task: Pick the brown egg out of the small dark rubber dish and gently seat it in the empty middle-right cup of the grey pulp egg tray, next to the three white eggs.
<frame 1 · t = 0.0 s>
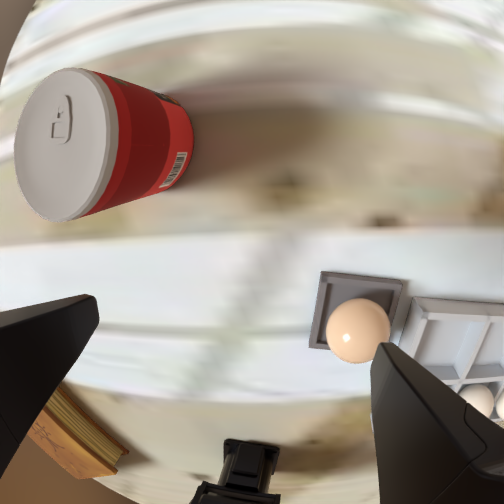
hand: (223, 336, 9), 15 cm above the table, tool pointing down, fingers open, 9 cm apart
egg tray: (476, 364, 23), on the table
canned food: (153, 143, 22), on the table
egg dish: (353, 312, 23), on the table
brown egg: (358, 331, 21), point 3 cm above the table, touching egg dish
white egg 2: (472, 406, 21), point 3 cm above the table, touching egg tray
diary: (58, 411, 39), on the table
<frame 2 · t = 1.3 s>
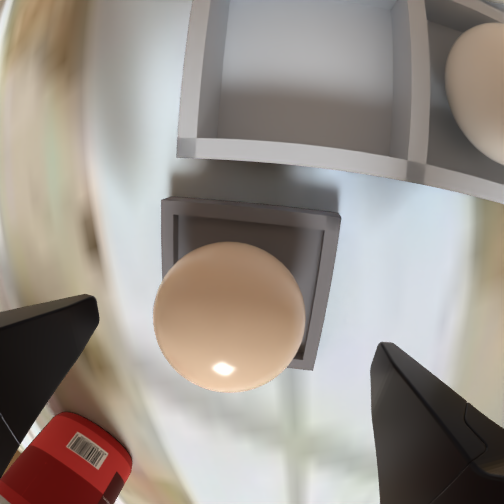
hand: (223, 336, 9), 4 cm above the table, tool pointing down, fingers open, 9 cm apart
canned food: (95, 440, 19), on the table
egg dish: (245, 283, 12), on the table
brown egg: (229, 317, 10), point 3 cm above the table, touching egg dish
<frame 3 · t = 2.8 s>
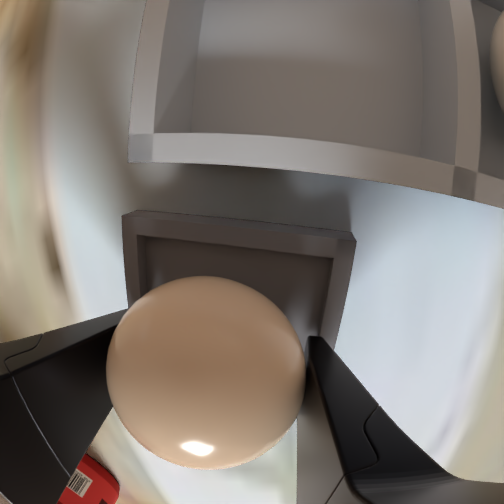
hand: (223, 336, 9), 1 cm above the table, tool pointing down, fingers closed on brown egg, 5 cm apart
canned food: (80, 462, 17), on the table
egg dish: (231, 319, 10), on the table
brown egg: (205, 374, 7), point 3 cm above the table, touching egg dish, gripper
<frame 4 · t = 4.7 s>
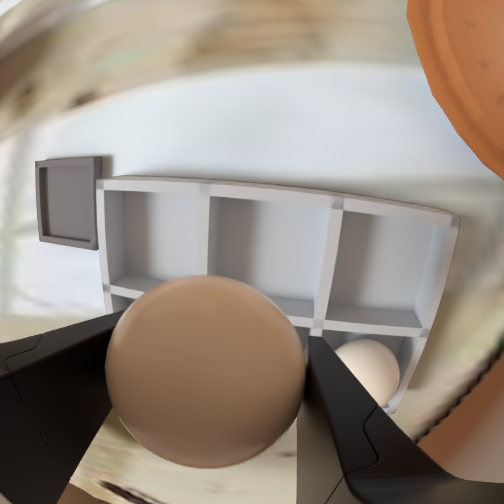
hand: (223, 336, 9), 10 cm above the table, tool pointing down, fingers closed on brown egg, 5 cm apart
egg tray: (265, 296, 19), on the table
egg dish: (69, 201, 20), on the table
white egg 1: (361, 377, 17), point 3 cm above the table, touching egg tray
brown egg: (205, 373, 7), point 12 cm above the table, touching gripper
pie: (493, 73, 12), on the table
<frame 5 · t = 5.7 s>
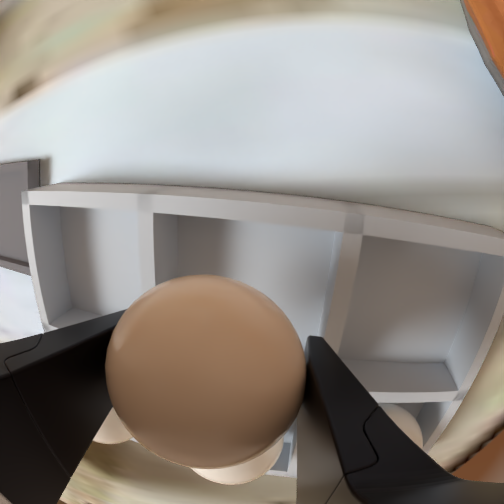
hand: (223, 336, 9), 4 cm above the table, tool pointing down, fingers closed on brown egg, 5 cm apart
egg tray: (246, 345, 14), on the table
egg dish: (11, 215, 14), on the table
white egg 1: (372, 449, 11), point 3 cm above the table, touching egg tray
brown egg: (205, 373, 7), point 6 cm above the table, touching gripper
white egg 3: (104, 399, 13), point 3 cm above the table, touching egg tray
white egg 2: (230, 436, 12), point 3 cm above the table, touching egg tray
when the fingers open (3 cm above the table, at t = 6.6 s): brown egg drops 2 cm, resting on egg tray.
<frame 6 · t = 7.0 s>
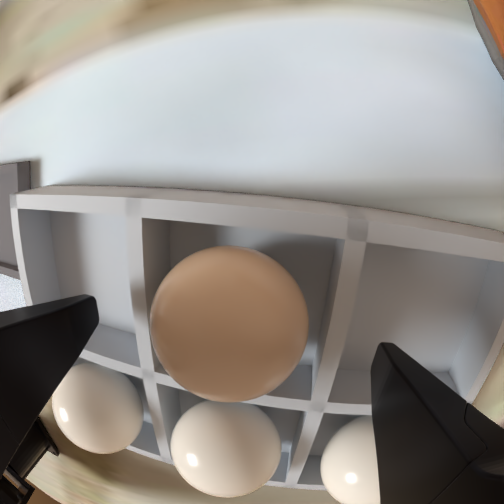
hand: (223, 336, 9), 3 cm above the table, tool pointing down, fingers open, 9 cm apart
egg tray: (242, 355, 13), on the table
egg dish: (3, 218, 14), on the table
white egg 1: (373, 461, 10), point 3 cm above the table, touching egg tray
brown egg: (229, 324, 9), point 3 cm above the table, touching egg tray
white egg 3: (97, 408, 12), point 3 cm above the table, touching egg tray
white egg 2: (225, 448, 11), point 3 cm above the table, touching egg tray
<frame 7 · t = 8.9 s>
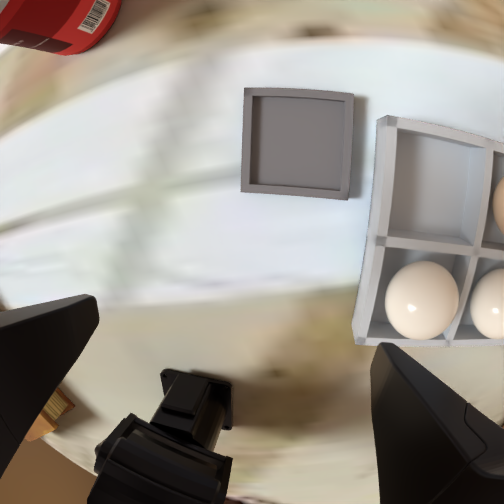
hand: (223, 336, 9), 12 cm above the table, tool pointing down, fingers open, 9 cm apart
egg tray: (493, 244, 17), on the table
canned food: (89, 16, 17), on the table
egg dish: (297, 142, 18), on the table
white egg 3: (422, 300, 16), point 3 cm above the table, touching egg tray
white egg 2: (500, 303, 15), point 3 cm above the table, touching egg tray
diary: (10, 359, 34), on the table
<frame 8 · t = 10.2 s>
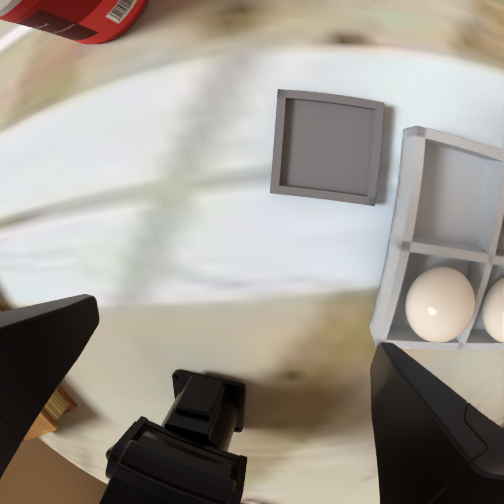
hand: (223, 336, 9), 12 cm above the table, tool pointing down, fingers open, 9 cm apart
egg tray: (503, 253, 17), on the table
canned food: (113, 6, 16), on the table
egg dish: (327, 146, 18), on the table
white egg 3: (440, 304, 16), point 3 cm above the table, touching egg tray
diary: (9, 356, 33), on the table
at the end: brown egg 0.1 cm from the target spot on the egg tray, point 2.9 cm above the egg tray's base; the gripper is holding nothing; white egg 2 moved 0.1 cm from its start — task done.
